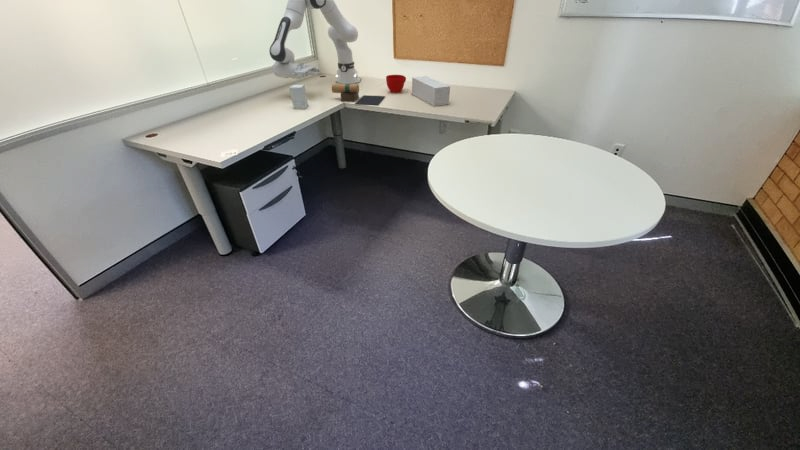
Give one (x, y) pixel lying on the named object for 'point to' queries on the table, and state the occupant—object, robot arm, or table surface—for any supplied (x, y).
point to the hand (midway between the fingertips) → (317, 71)
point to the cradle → (349, 97)
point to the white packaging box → (298, 96)
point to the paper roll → (345, 88)
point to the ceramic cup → (395, 82)
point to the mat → (370, 100)
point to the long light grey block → (430, 90)
